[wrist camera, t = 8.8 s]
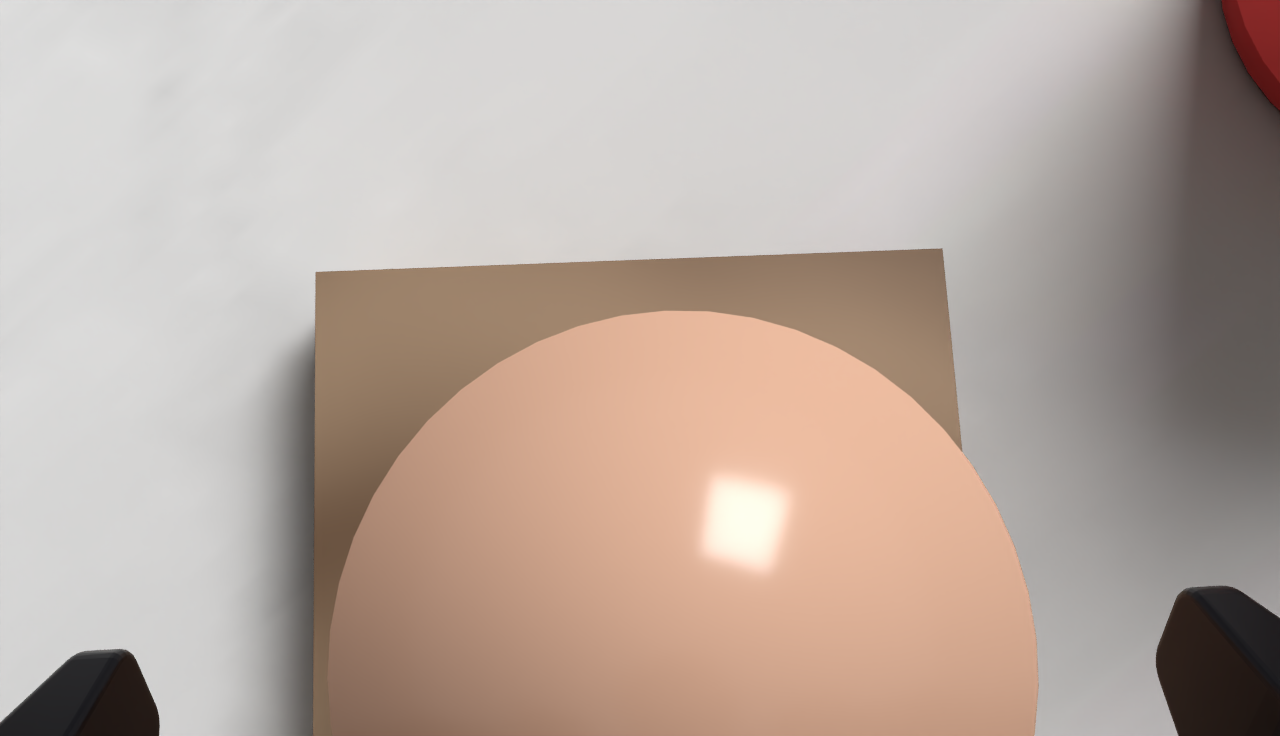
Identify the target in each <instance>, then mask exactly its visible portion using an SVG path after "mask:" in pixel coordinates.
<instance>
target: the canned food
mask: <svg viewBox="0 0 1280 736" xmlns="http://www.w3.org/2000/svg"><path fill="white" fill-rule="evenodd" d="M1222 9H1223V12H1224V16H1225V19H1226V22H1227V26H1228V29H1229V32H1230V35H1231V39H1232V42H1233V44H1234V46H1235V48H1236V50H1237V52H1238V54H1239V56H1240V58H1241V60H1242V61H1243V63H1244V65H1245V67H1246V69H1247V71H1248V73H1249V75H1250V76H1251V77H1252V78H1253V80H1254V81H1255V82H1256V84H1257V85H1258V86H1259V88H1260V89H1261V90H1262V92H1263V93H1264V94H1265V95H1266V97H1267V98H1268V99H1269V101H1270V102H1271V103H1272V104H1273V105H1274V106H1275V107H1276V108H1277V109H1278V110H1280V0H1222Z"/></svg>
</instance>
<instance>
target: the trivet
mask: <svg viewBox="0 0 1280 736" xmlns="http://www.w3.org/2000/svg"><path fill="white" fill-rule="evenodd" d="M658 311H710V312H717V313H724V314H730V315H737V316H744V317H751V318H756V319H759V320H763V321H766V322H770V323H773V324H777V325H781V326H784V327H788V328H791V329H795V330H798V331H800V332H802V333H805V334H807V335H809V336H812V337H814V338H816V339H819V340H821V341H824V342H826V343H828V344H831V345H833V346H835V347H837V348H839V349H841V350H843V351H844V352H846V353H848V354H849V355H851V356H853V357H855V358H856V359H858V360H860V361H862V362H863V363H865V364H867V365H868V366H870V367H872V368H874V369H875V370H877V371H878V372H879V373H881V374H882V375H883V376H884V377H886V378H887V379H888V380H890V381H891V382H892V383H894V384H895V385H896V386H898V387H899V388H900V389H901V390H903V391H904V392H905V393H907V394H908V395H909V396H911V397H912V398H913V399H914V400H915V401H916V402H917V403H918V404H919V405H920V406H921V407H922V408H923V409H924V410H925V411H926V412H927V413H928V414H929V415H930V416H931V417H932V418H933V419H934V420H935V421H936V422H937V423H938V424H939V425H940V426H941V427H942V428H943V429H944V430H945V431H946V433H947V434H948V435H949V436H950V438H951V439H952V440H953V441H954V443H955V444H956V445H957V447H958V448H959V449H960V450H961V452H962V445H961V435H960V424H959V414H958V404H957V393H956V383H955V373H954V363H953V352H952V342H951V332H950V322H949V311H948V301H947V291H946V281H945V270H944V260H943V250H942V249H918V250H891V251H864V252H838V253H811V254H784V255H757V256H731V257H704V258H677V259H651V260H624V261H597V262H570V263H544V264H517V265H490V266H464V267H437V268H410V269H383V270H357V271H330V272H316V299H315V468H314V637H313V736H333V735H332V730H331V723H330V708H329V694H328V680H327V676H328V659H329V642H330V628H331V623H332V617H333V612H334V607H335V601H336V596H337V591H338V585H339V581H340V578H341V575H342V572H343V569H344V566H345V563H346V560H347V556H348V553H349V550H350V547H351V544H352V541H353V538H354V536H355V534H356V531H357V529H358V527H359V525H360V523H361V521H362V519H363V517H364V514H365V512H366V510H367V508H368V506H369V504H370V502H371V499H372V497H373V495H374V494H375V492H376V491H377V489H378V487H379V486H380V484H381V483H382V481H383V479H384V478H385V476H386V475H387V473H388V472H389V470H390V468H391V467H392V465H393V464H394V462H395V461H396V459H397V457H398V456H399V455H400V453H401V452H402V451H403V450H404V449H405V447H406V446H407V445H408V444H409V443H410V441H411V440H412V439H413V438H414V437H415V435H416V434H417V433H418V432H419V431H420V429H421V428H422V427H423V426H424V425H425V423H426V422H427V421H428V420H429V419H430V418H431V417H432V416H433V415H434V414H435V413H436V412H438V411H439V410H440V409H441V408H442V407H443V406H444V405H445V404H446V403H447V402H448V401H449V400H450V399H451V398H453V397H454V396H455V395H456V394H457V393H458V392H459V391H460V390H461V389H463V388H464V387H465V386H467V385H468V384H469V383H471V382H472V381H474V380H475V379H476V378H478V377H479V376H481V375H482V374H483V373H485V372H486V371H488V370H489V369H490V368H492V367H493V366H495V365H496V364H497V363H499V362H501V361H503V360H505V359H506V358H508V357H510V356H512V355H514V354H516V353H518V352H519V351H521V350H523V349H525V348H527V347H529V346H530V345H532V344H534V343H536V342H538V341H541V340H543V339H546V338H549V337H551V336H554V335H556V334H559V333H562V332H564V331H567V330H569V329H572V328H575V327H577V326H581V325H585V324H589V323H593V322H597V321H601V320H605V319H609V318H613V317H617V316H622V315H631V314H640V313H649V312H658Z"/></svg>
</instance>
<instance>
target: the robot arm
mask: <svg viewBox="0 0 1280 736" xmlns="http://www.w3.org/2000/svg"><path fill="white" fill-rule="evenodd" d="M1156 668H1157V674H1158V677H1159V681H1160V684H1161V686H1162V689H1163V692H1164V695H1165V698H1166V701H1167V704H1168V707H1169V710H1170V713H1171V715H1172V718H1173V721H1174V724H1175V727H1176V730H1177V733H1178V736H1280V618H1279V617H1278V616H1276V615H1275V614H1273V613H1272V612H1270V611H1269V610H1267V609H1266V608H1265V607H1263V606H1262V605H1260V604H1259V603H1257V602H1256V601H1254V600H1253V599H1252V598H1250V597H1249V596H1247V595H1246V594H1244V593H1243V592H1241V591H1239V590H1237V589H1235V588H1233V587H1229V586H1208V587H1191V588H1187V589H1184V590H1183V591H1182V592H1181V593H1180V594H1179V595H1178V596H1177V598H1176V600H1175V603H1174V606H1173V608H1172V611H1171V613H1170V616H1169V619H1168V621H1167V624H1166V626H1165V629H1164V632H1163V634H1162V637H1161V639H1160V642H1159V645H1158V648H1157V652H1156ZM159 727H160V725H159V715H158V710H157V707H156V704H155V702H154V700H153V698H152V695H151V693H150V691H149V688H148V686H147V684H146V681H145V679H144V677H143V675H142V672H141V670H140V668H139V665H138V663H137V661H136V659H135V657H134V656H133V655H132V654H131V653H130V652H129V651H127V650H123V649H112V650H94V651H84V652H80V653H77V654H76V655H74V656H72V657H71V658H70V659H68V660H67V661H66V662H65V663H64V664H63V665H62V666H61V667H60V668H58V669H57V670H56V671H55V672H54V673H53V674H52V675H51V676H50V677H49V678H48V679H47V680H46V681H44V682H43V683H42V684H41V685H40V686H39V687H38V688H37V689H36V690H35V691H34V692H33V693H32V694H30V695H29V696H28V697H27V698H26V699H25V700H24V701H23V702H22V703H21V704H20V705H19V706H18V707H16V708H15V709H14V710H13V711H12V712H11V713H10V714H9V715H8V716H7V717H6V718H5V719H4V720H2V721H1V722H0V736H159Z"/></svg>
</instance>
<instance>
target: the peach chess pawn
mask: <svg viewBox="0 0 1280 736" xmlns="http://www.w3.org/2000/svg"><path fill="white" fill-rule="evenodd" d="M327 680H328V694H329V708H330V723H331V730H332V735H333V736H1034V734H1035V722H1036V710H1037V698H1038V664H1037V642H1036V633H1035V628H1034V622H1033V616H1032V610H1031V604H1030V598H1029V593H1028V589H1027V586H1026V582H1025V579H1024V576H1023V573H1022V569H1021V566H1020V563H1019V559H1018V556H1017V553H1016V549H1015V546H1014V544H1013V542H1012V540H1011V537H1010V535H1009V533H1008V531H1007V528H1006V526H1005V524H1004V522H1003V519H1002V517H1001V515H1000V513H999V510H998V508H997V506H996V504H995V502H994V501H993V499H992V497H991V496H990V494H989V492H988V491H987V489H986V487H985V486H984V484H983V482H982V481H981V479H980V477H979V476H978V474H977V472H976V471H975V469H974V467H973V466H972V464H971V463H970V462H969V460H968V459H967V458H966V457H965V455H964V454H963V453H962V452H961V450H960V449H959V448H958V447H957V445H956V444H955V443H954V441H953V440H952V439H951V438H950V436H949V435H948V434H947V433H946V431H945V430H944V429H943V428H942V427H941V426H940V425H939V424H938V423H937V422H936V421H935V420H934V419H933V418H932V417H931V416H930V415H929V414H928V413H927V412H926V411H925V410H924V409H923V408H922V407H921V406H920V405H919V404H918V403H917V402H916V401H915V400H914V399H913V398H912V397H911V396H909V395H908V394H907V393H905V392H904V391H903V390H901V389H900V388H899V387H898V386H896V385H895V384H894V383H892V382H891V381H890V380H888V379H887V378H886V377H884V376H883V375H882V374H881V373H879V372H878V371H877V370H875V369H874V368H872V367H870V366H868V365H867V364H865V363H863V362H862V361H860V360H858V359H856V358H855V357H853V356H851V355H849V354H848V353H846V352H844V351H843V350H841V349H839V348H837V347H835V346H833V345H831V344H828V343H826V342H824V341H821V340H819V339H816V338H814V337H812V336H809V335H807V334H805V333H802V332H800V331H798V330H795V329H791V328H788V327H784V326H781V325H777V324H773V323H770V322H766V321H763V320H759V319H756V318H751V317H744V316H737V315H730V314H724V313H717V312H710V311H658V312H649V313H640V314H631V315H622V316H617V317H613V318H609V319H605V320H601V321H597V322H593V323H589V324H585V325H581V326H577V327H575V328H572V329H569V330H567V331H564V332H562V333H559V334H556V335H554V336H551V337H549V338H546V339H543V340H541V341H538V342H536V343H534V344H532V345H530V346H529V347H527V348H525V349H523V350H521V351H519V352H518V353H516V354H514V355H512V356H510V357H508V358H506V359H505V360H503V361H501V362H499V363H497V364H496V365H495V366H493V367H492V368H490V369H489V370H488V371H486V372H485V373H483V374H482V375H481V376H479V377H478V378H476V379H475V380H474V381H472V382H471V383H469V384H468V385H467V386H465V387H464V388H463V389H461V390H460V391H459V392H458V393H457V394H456V395H455V396H454V397H453V398H451V399H450V400H449V401H448V402H447V403H446V404H445V405H444V406H443V407H442V408H441V409H440V410H439V411H438V412H436V413H435V414H434V415H433V416H432V417H431V418H430V419H429V420H428V421H427V422H426V423H425V425H424V426H423V427H422V428H421V429H420V431H419V432H418V433H417V434H416V435H415V437H414V438H413V439H412V440H411V441H410V443H409V444H408V445H407V446H406V447H405V449H404V450H403V451H402V452H401V453H400V455H399V456H398V457H397V459H396V461H395V462H394V464H393V465H392V467H391V468H390V470H389V472H388V473H387V475H386V476H385V478H384V479H383V481H382V483H381V484H380V486H379V487H378V489H377V491H376V492H375V494H374V495H373V497H372V499H371V502H370V504H369V506H368V508H367V510H366V512H365V514H364V517H363V519H362V521H361V523H360V525H359V527H358V529H357V531H356V534H355V536H354V538H353V541H352V544H351V547H350V550H349V553H348V556H347V560H346V563H345V566H344V569H343V572H342V575H341V578H340V581H339V585H338V591H337V596H336V601H335V607H334V612H333V617H332V623H331V628H330V642H329V659H328V676H327Z"/></svg>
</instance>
